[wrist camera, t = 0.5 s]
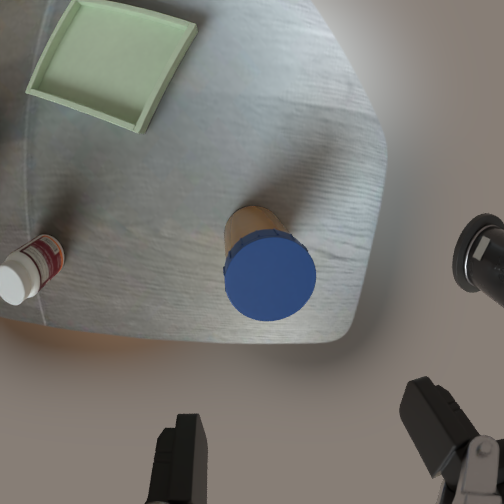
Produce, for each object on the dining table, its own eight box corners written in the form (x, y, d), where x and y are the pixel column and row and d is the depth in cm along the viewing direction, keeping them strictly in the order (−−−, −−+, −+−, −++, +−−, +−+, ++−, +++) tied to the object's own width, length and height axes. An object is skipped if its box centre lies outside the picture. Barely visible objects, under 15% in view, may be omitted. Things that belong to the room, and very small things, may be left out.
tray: (198, 31, 23) (196, 23, 21) (144, 134, 26) (138, 133, 24) (82, 1, 20) (74, -5, 18) (35, 94, 23) (25, 92, 21)
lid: (308, 225, 21) (317, 232, 19) (308, 303, 23) (315, 315, 21) (219, 232, 20) (219, 241, 19) (228, 312, 22) (229, 326, 21)
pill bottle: (39, 274, 30) (0, 309, 22) (28, 235, 28) (-15, 263, 20) (70, 272, 30) (34, 309, 22) (60, 231, 28) (18, 259, 20)
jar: (280, 203, 30) (312, 233, 20) (282, 258, 31) (311, 310, 21) (221, 208, 29) (223, 241, 19) (226, 263, 31) (231, 319, 21)
